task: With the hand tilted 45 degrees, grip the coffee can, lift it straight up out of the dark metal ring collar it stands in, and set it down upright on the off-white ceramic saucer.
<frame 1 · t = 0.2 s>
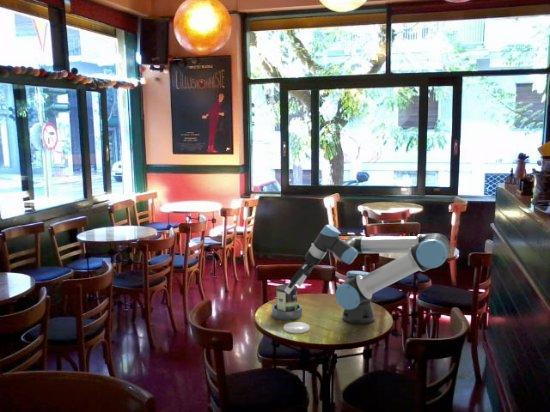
hand: (292, 288, 252), 15 cm above the table, tool tilted 35°, fingers open, 13 cm apart
ring collar: (286, 314, 261), on the table
saucer: (296, 328, 243), on the table
coffee can: (286, 315, 261), resting in ring collar
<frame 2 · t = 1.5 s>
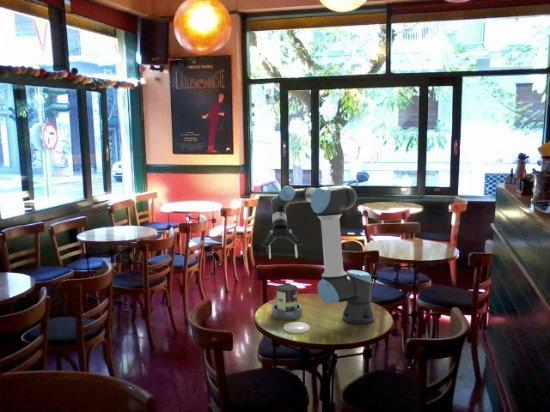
hand: (283, 257, 267), 26 cm above the table, tool tilted 45°, fingers open, 13 cm apart
nothing on the table moved.
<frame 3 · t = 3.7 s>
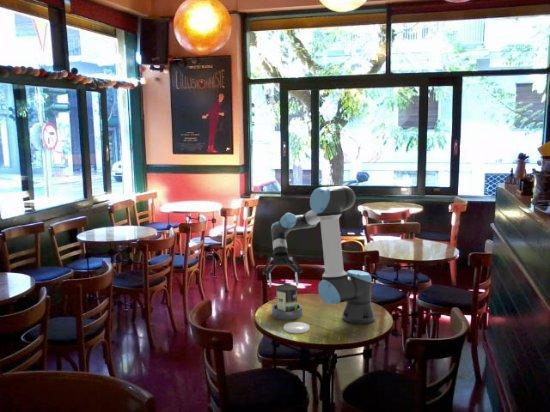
hand: (283, 285, 266), 13 cm above the table, tool tilted 45°, fingers open, 13 cm apart
nothing on the table moved.
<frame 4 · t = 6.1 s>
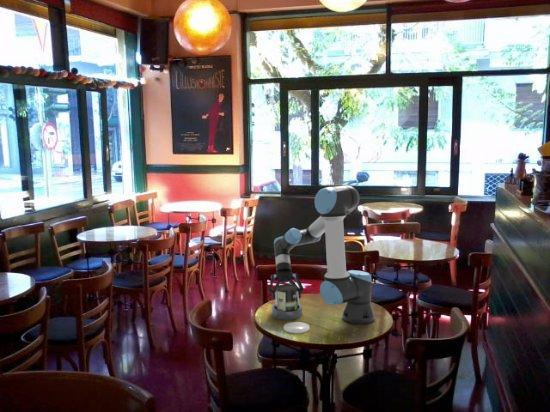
hand: (287, 304, 257), 6 cm above the table, tool tilted 45°, fingers closed on coffee can, 10 cm apart
coffee can: (286, 315, 261), resting in ring collar, touching gripper
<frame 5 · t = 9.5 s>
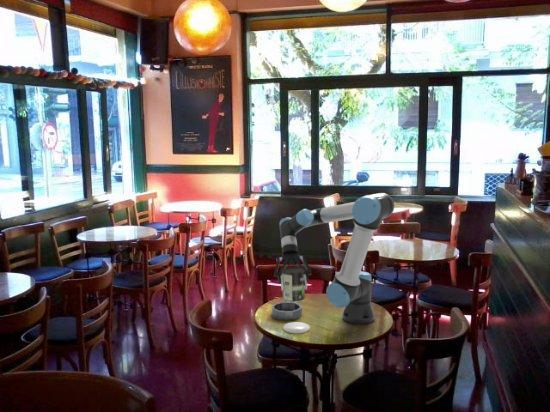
hand: (294, 288, 240), 19 cm above the table, tool tilted 45°, fingers closed on coffee can, 10 cm apart
coffee can: (293, 299, 244), point 13 cm above the table, touching gripper
when the fingers open (8 cm above the table, at t = 12.8 s): coffee can drops 2 cm, resting on saucer.
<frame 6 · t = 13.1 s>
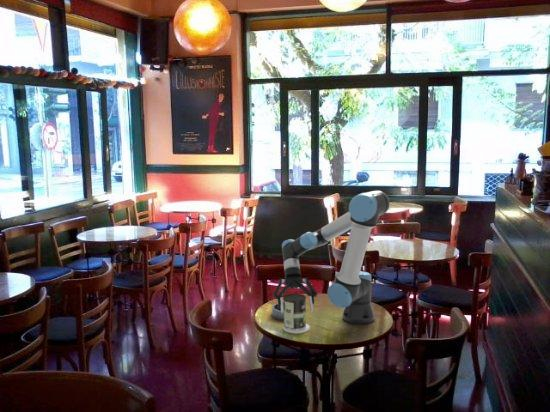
hand: (297, 311, 239), 9 cm above the table, tool tilted 45°, fingers open, 13 cm apart
coffee can: (294, 326, 243), point 1 cm above the table, touching saucer
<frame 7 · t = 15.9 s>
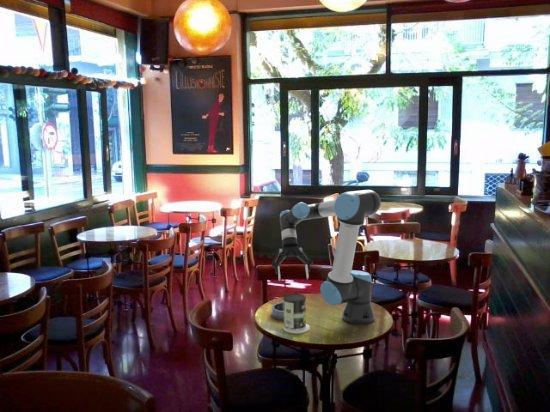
hand: (293, 278, 253), 20 cm above the table, tool tilted 40°, fingers open, 13 cm apart
nothing on the table moved.
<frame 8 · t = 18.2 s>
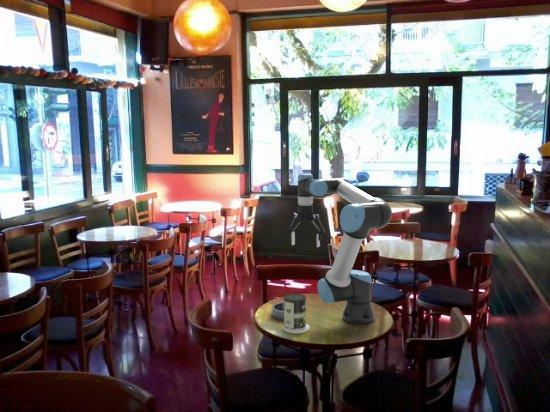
hand: (305, 245, 269), 32 cm above the table, tool pointing down, fingers open, 13 cm apart
nothing on the table moved.
at the end: coffee can 0.9 cm off-centre on the saucer, point 0.6 cm above the saucer's base; coffee can tilted 0°; the gripper is holding nothing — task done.
